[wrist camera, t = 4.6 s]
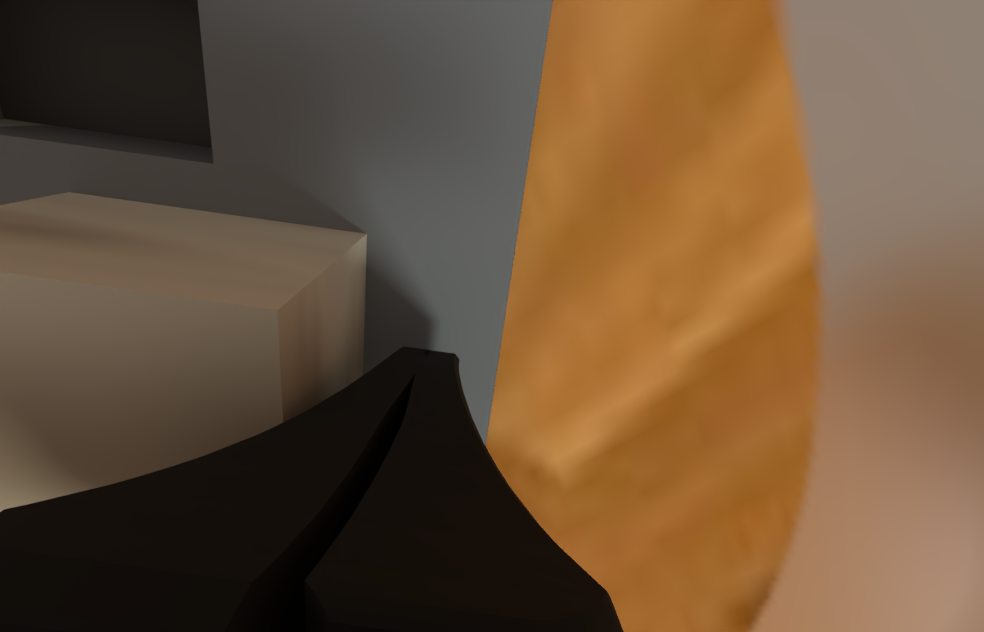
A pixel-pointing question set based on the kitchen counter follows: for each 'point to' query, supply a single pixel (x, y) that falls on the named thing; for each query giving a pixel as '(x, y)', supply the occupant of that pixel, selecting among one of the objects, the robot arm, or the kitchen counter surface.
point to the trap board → (301, 136)
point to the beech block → (161, 335)
